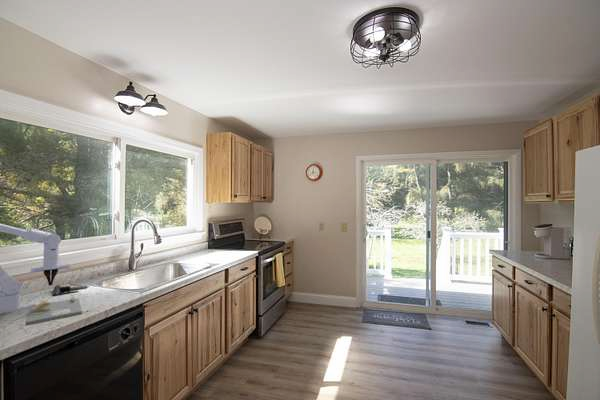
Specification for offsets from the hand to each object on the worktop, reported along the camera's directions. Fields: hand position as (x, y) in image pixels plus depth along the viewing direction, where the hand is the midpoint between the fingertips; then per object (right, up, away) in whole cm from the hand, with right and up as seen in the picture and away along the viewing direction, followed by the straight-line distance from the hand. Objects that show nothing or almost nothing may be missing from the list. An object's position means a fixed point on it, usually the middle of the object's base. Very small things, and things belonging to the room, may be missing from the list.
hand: (50, 284), depth 138 cm
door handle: (-6, -10, +18) cm, 22 cm away
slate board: (+12, -9, -10) cm, 18 cm away
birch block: (+7, -8, -12) cm, 16 cm away
